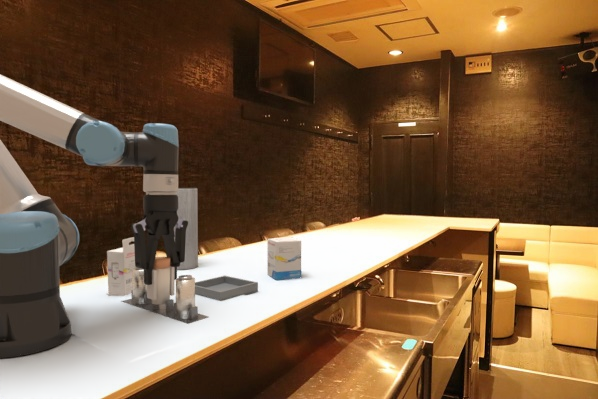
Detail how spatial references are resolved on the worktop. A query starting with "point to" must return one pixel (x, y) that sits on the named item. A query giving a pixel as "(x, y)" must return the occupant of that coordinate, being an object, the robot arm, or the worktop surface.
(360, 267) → the worktop surface
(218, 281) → the tray
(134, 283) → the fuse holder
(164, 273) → the cylinder
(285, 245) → the ink box
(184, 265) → the vase
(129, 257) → the ink cartridge box
